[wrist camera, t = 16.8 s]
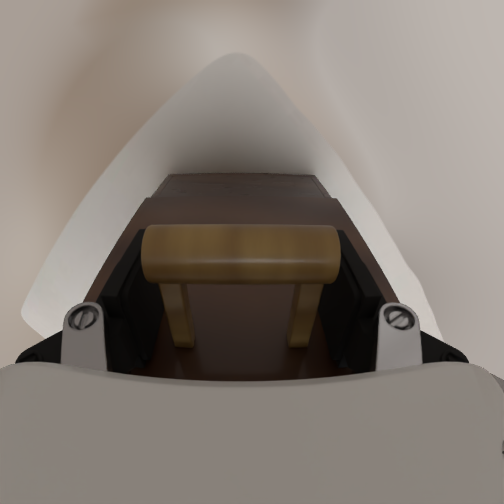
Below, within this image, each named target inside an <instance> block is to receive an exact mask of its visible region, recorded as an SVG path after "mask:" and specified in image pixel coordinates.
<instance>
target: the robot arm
mask: <svg viewBox="0 0 504 504" xmlns="http://www.w3.org/2000/svg"><path fill="white" fill-rule="evenodd" d="M145 230H146V229H139V230H138V232H137V233H136V235H135V236H134V238H133V240H132V241H131V243H130V245H129V246H128V248H127V249H126V251H125V253H124V254H123V256H122V258H121V260H120V261H119V262H118V263H117V264H116V266H115V268H114V269H113V271H112V273H111V275H110V276H109V278H108V280H107V282H106V283H105V285H104V287H103V289H102V291H101V293H100V294H99V296H98V298H97V300H96V302H83V303H80V304H77V305H76V306H74V307H72V308H71V309H70V310H69V311H68V312H67V314H66V315H65V318H64V323H63V330H62V331H60V332H58V333H56V334H54V335H52V336H50V337H49V338H47V339H45V340H43V341H41V342H39V343H38V344H36V345H34V346H32V347H30V348H28V349H27V350H25V351H24V352H22V353H21V354H20V355H19V357H18V358H17V360H16V362H15V364H11V365H8V366H6V367H3V368H1V369H0V504H504V380H502V379H500V378H498V377H496V376H495V375H493V374H491V373H489V372H488V371H487V370H485V369H484V368H482V367H480V366H477V365H474V364H469V361H468V359H467V358H466V356H465V355H464V354H463V353H462V352H460V351H459V350H457V349H456V348H453V347H452V346H450V345H448V344H446V343H444V342H442V341H440V340H438V339H436V338H434V337H433V336H431V335H429V334H427V333H425V332H423V331H421V330H420V325H419V319H418V316H417V315H416V313H415V312H414V311H413V310H412V309H411V308H410V307H408V306H406V305H404V304H401V303H396V302H391V303H387V302H386V300H385V298H384V296H383V294H382V293H381V291H380V289H379V287H378V285H377V284H376V282H375V280H374V278H373V277H372V275H371V273H370V271H369V270H368V268H367V266H366V265H365V263H364V262H362V260H361V258H360V257H359V255H358V253H357V252H356V250H355V248H354V247H353V245H352V243H351V242H350V240H349V238H348V237H347V235H346V234H345V232H344V231H343V230H336V231H337V233H338V237H339V241H340V249H341V260H340V268H339V273H338V276H337V278H336V280H335V281H334V282H333V283H331V284H324V286H323V290H322V294H321V298H320V302H319V306H318V313H319V316H320V320H321V324H322V327H323V331H324V334H325V338H326V342H327V345H328V349H329V353H330V356H331V359H332V360H336V363H337V367H338V368H344V367H348V368H349V369H351V370H353V371H352V375H344V376H335V377H325V378H314V379H300V380H282V381H199V380H181V379H167V378H156V377H146V376H137V375H131V371H130V370H132V369H133V368H135V367H138V368H145V365H146V361H147V360H151V358H152V354H153V350H154V346H155V342H156V338H157V335H158V331H159V327H160V323H161V320H162V316H163V313H164V305H163V301H162V297H161V293H160V289H159V285H158V283H149V282H148V281H147V280H146V278H145V276H144V273H143V269H142V262H141V247H142V240H143V236H144V233H145Z"/></svg>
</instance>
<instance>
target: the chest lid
mask: <svg viewBox="0 0 504 504" xmlns="http://www.w3.org/2000/svg"><path fill="white" fill-rule="evenodd" d="M139 229H146V230H145V233H144V236H143V240H142V247H141V262H142V269H143V273H144V276H145V278H146V280H147V281H148V282H149V283H158V285H159V289H160V293H161V297H162V301H163V305H164V313H163V316H162V320H161V323H160V327H159V331H158V335H157V338H156V342H155V346H154V350H153V354H152V358H151V360H147V361H146V365H145V368H138V367H135V368H133V369H132V370H130V371H131V375H137V376H146V377H156V378H167V379H181V380H199V381H282V380H300V379H314V378H325V377H335V376H344V375H352V371H353V370H351V369H349V368H348V367H344V368H338V367H337V363H336V360H332V359H331V356H330V353H329V349H328V345H327V342H326V338H325V334H324V331H323V327H322V324H321V320H320V316H319V313H318V306H319V302H320V298H321V294H322V290H323V286H324V284H331V283H333V282H334V281H335V280H336V278H337V276H338V273H339V268H340V260H341V249H340V241H339V237H338V233H337V231H336V230H343V231H344V232H345V234H346V235H347V237H348V238H349V240H350V242H351V243H352V245H353V247H354V248H355V250H356V252H357V253H358V255H359V257H360V258H361V260H362V262H364V263H365V265H366V266H367V268H368V270H369V271H370V273H371V275H372V277H373V278H374V280H375V282H376V284H377V285H378V287H379V289H380V291H381V293H382V294H383V296H384V298H385V300H386V302H387V303H391V302H396V303H400V302H399V300H398V298H397V296H396V294H395V293H394V291H393V289H392V287H391V285H390V284H389V282H388V280H387V278H386V276H385V275H384V273H383V271H382V269H381V268H380V266H379V264H378V263H377V261H376V259H375V258H374V256H373V254H372V253H371V251H370V249H369V248H368V246H367V244H366V243H365V241H364V239H363V238H362V236H361V235H360V233H359V231H358V230H357V228H356V227H355V225H354V224H353V222H352V221H351V219H350V218H349V216H348V214H347V213H346V211H345V210H344V208H343V207H342V205H341V204H340V203H339V201H338V200H337V199H336V198H315V197H287V196H177V197H149V198H146V199H145V200H144V201H143V203H142V204H141V206H140V207H139V209H138V210H137V212H136V213H135V215H134V216H133V218H132V219H131V221H130V222H129V224H128V225H127V227H126V228H125V230H124V231H123V233H122V235H121V236H120V238H119V239H118V241H117V243H116V244H115V246H114V248H113V249H112V251H111V253H110V254H109V256H108V258H107V259H106V261H105V263H104V264H103V266H102V268H101V270H100V271H99V273H98V275H97V277H96V278H95V280H94V282H93V284H92V286H91V288H90V289H89V291H88V293H87V295H86V297H85V299H84V301H83V302H96V300H97V298H98V296H99V294H100V293H101V291H102V289H103V287H104V285H105V283H106V282H107V280H108V278H109V276H110V275H111V273H112V271H113V269H114V268H115V266H116V264H117V263H118V262H119V261H120V260H121V258H122V256H123V254H124V253H125V251H126V249H127V248H128V246H129V245H130V243H131V241H132V240H133V238H134V236H135V235H136V233H137V232H138V230H139Z"/></svg>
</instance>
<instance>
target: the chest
mask: <svg viewBox="0 0 504 504" xmlns="http://www.w3.org/2000/svg"><path fill="white" fill-rule="evenodd" d="M177 196H287V197H315V198H332V197H331V196H330V195H329V193H328V192H327V191H326V189H325V188H324V187H323V185H322V184H321V183H320V182H319V180H318V179H317V178H316V176H315V175H297V174H269V173H198V174H170V175H168V176H167V177H166V178H165V180H164V181H163V182H162V183H161V185H160V186H159V187H158V189H157V190H156V191H155V193H154V194H153V195H152V196H151V197H177Z"/></svg>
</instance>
